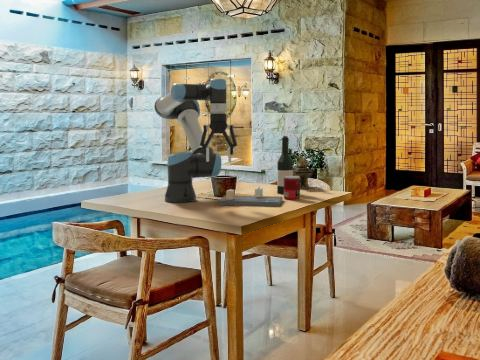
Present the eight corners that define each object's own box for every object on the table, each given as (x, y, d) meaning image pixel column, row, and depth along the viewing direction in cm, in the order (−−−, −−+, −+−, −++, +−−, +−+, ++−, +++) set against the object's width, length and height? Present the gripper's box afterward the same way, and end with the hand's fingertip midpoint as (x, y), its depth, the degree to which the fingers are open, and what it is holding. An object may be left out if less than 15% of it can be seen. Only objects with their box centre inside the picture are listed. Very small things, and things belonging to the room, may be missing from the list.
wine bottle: (274, 192, 275) (274, 136, 272) (288, 191, 279) (288, 135, 275) (281, 194, 268) (281, 136, 264) (295, 193, 271) (296, 136, 267)
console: (218, 204, 239) (218, 200, 239) (225, 199, 255) (225, 195, 255) (278, 206, 234) (278, 202, 234) (282, 200, 250) (282, 196, 250)
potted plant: (288, 185, 302) (288, 151, 299) (304, 185, 303) (305, 151, 300) (296, 190, 282) (296, 154, 280) (313, 190, 283) (314, 154, 281)
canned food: (299, 200, 251) (299, 177, 250) (282, 199, 253) (282, 177, 251) (300, 197, 259) (300, 175, 257) (284, 197, 260) (284, 175, 259)
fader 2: (254, 197, 246) (254, 188, 246) (256, 195, 251) (256, 186, 250) (261, 197, 246) (261, 188, 245) (262, 195, 250) (262, 186, 250)
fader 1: (226, 199, 239) (226, 190, 239) (228, 197, 244) (228, 188, 244) (232, 199, 239) (232, 190, 238) (234, 198, 244) (234, 189, 243)
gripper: (192, 113, 236) (193, 162, 239) (240, 113, 232) (241, 162, 235) (196, 113, 243) (197, 160, 246) (243, 113, 239) (243, 161, 242)
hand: (218, 161), depth 240 cm, fingers open, 10 cm apart
